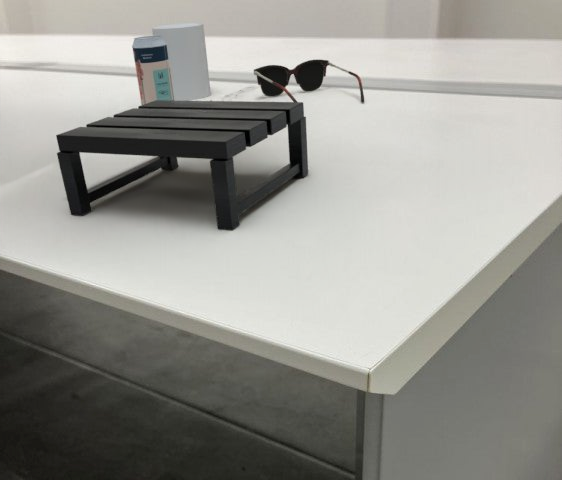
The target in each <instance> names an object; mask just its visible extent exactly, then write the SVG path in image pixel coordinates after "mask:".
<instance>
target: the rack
mask: <svg viewBox="0 0 562 480" xmlns="http://www.w3.org/2000/svg"><path fill="white" fill-rule="evenodd" d="M304 109H305V107H304V102H302V101H297V102H293V101H241V100H240V101H235V100H234V101H233V100H212V101H211V100H190V101H172V100H155V101H153V102H150V103H147V104H144V105H142V104H141V105H138V107H133V108H130V109H127V110H124V111H121V112H119V113H116V114H113V116H107V117H103V118H101V119H98V120H95V121H93V122H90V123H87V124H85V126H78V127H76V128H73V129H70V130H67V131H64V132H61V133H58V134H56V135H55V138H56V141H57V146H58V150H59V151H58V152H56V156H57V160H58V165H59V169H60V174H61V178H62V182H63V187H64V190H65V194H66V199H67V204H68V209H69V212H70V215H72V216H80V217H81V216H82V217H83V216H85V215H87V214H89V213H91V212H92V205H91V203H93V202H95V201H98V200H100V199H101V198H104V197H106V196H107V195H109V194H111V193H114V192H116V191H118V190H120V189H122V188H124V187H126V186H127V185H130V184H132V183H133V182H136V181H138V180H140V179H142V178H144V177H146V176H148V175H150V174H152V173H154V172H156V171H158V170H162V171H174V170H175V169H178V168H179V161H178V158H181V159H182V158H184V159H202V160H203V159H204V160H209V164H210V166H209V167H210V174H211V183H212V191H213V200H214V209H215V217H216V226H217V229H218V230H229V231H233V230H234V229H236V228H237V227H239V226H240V215H241V214H242V213H244V212H245V211H247V210H248V209H249V208H251V207H252V206H254V205H256V204H257V203H258V202H259V201H261V200H262V199H264V198H265V197H267V196H268V195H270V194H271V193H272V192H274V191H275V190H276V189H278V188H279V187H280V186H282V185H283V184H285V183H286V182H288V181H289V180H290V179H293V178H296V179H304V178H305V177H307V176H308V175H309V161H308V160H309V159H308V141H307V140H308V138H307V137H308V136H307V116H305V110H304ZM286 128H287V135H288V136H287V137H288V138H287V140H288V156H289V157H288V159H289V163H288V164H286V165H285V166H282V168H280V169H279V170H277V171H275V172H274V173H273V174H271V175H269V176H268V177H267V178H265V179H263V180H262V181H261V182H259V183H258V184H256V185H255V186H253V187H251V188H250V189H249V190H247V191H245V192H244V193H242V194H241V195H239V196H238V195H237V194H238V193H237V183H236V173H235V164H234V162H235V161H234V157H236V156H237V155H240V153H243V152H245V151H246V150H247V148H252V147H254V146H255V145H257V144H259V143H261V142H262V141H264V140H266V139H268V137H269V136H273V135H275V134H277V133H278V132H280V131H282V130H284V129H286ZM80 153H84V154H103V155H123V156H143V157H154V158H151V159H150V160H148V161H145V162H144V163H141V164H140V165H137V166H135V167H133V168H131V169H129V170H126V171H124V172H122V173H120V174H118V175H115V176H114V177H111V178H110V179H109V178H108V179H107V180H105V181H103V182H101V183H99V184H97V185H94V186H92V187H90V188H88V187H87V182H86V177H85V173H84V169H83V163H82V158H81V154H80Z"/></svg>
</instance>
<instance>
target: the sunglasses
mask: <svg viewBox="0 0 562 480" xmlns="http://www.w3.org/2000/svg"><path fill="white" fill-rule="evenodd" d="M328 66H330V67H333V68H336V69H337V70H340V71H342V72H345V73H346V74H348V75H350V76H353V77H354V78H356V80H357V82H358V86H359V92H360V103H361V104H363V103H364V102H365V95H364V90H363V83H362V80H361V77H360V76H359V75H358V74H357V73H355V72H352V71H350V70H347V69H345V68H343V67H341V66H338V65H336V64H334V63H333V62H330V61H329V60H327V59H309V60H306V61H304V62H301V63H299V64H297V65H296V66H295V67H294V68H293V69H290V68H288V67H287V66H284V65H279V64H268V65H264V66H260V67H257V68H255V69H253V75H255V76H256V80H257V85H258V86H260V90H261V92H262V94H263V95H264V96H266V97H271V98H274V97H279V96H281V95H282V94H283V93H285V94H286V95H287V96H288V97H289V98H290V100H291V102H298V100H297V99H296V98H295V97H294V96H293V95H292V93H291V92H290V91H289V90H288V89H287V88H286V87H287V86H289V83H290V81H291V80H290V79H291V76H292V75H293V76H294V79H295V82H296V84H297V85H298V86H299V87H300V89H301V90H302V91H303V92H306V93H310V92H311V93H312V92H315V91H317V90H319V89H320V88H321V87H322V85H323V82H324V77H326V76H327V68H328Z"/></svg>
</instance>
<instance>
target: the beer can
mask: <svg viewBox="0 0 562 480" xmlns="http://www.w3.org/2000/svg"><path fill="white" fill-rule="evenodd" d="M131 48H132V52H133V53H132V54H133V59H134V67H135V72H136V79H137V86H138V90H139V96H140V103H141V105H144V104H147V103H150V102H153V101H155V100H172V101H174V96H173V89H172V81H171V74H170V66H169V59H168V52H167V44H166V42H165V41H164V39H163V37H162V36H153V35H144V36H139V37H138V36H137V37H134V38H133V42H132V45H131Z"/></svg>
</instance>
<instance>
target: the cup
mask: <svg viewBox="0 0 562 480" xmlns="http://www.w3.org/2000/svg"><path fill="white" fill-rule="evenodd" d="M151 30H152V32H151V33H152V36H162V37H163V39H164V41H165V42H166V44H167V52H168V59H169V66H170V74H171V81H172V89H173V96H174V101H198V100H202V99H207V98H209V97H211V95H212V93H211V92H212V91H211V82H210V73H209V65H208V56H207V55H208V54H207V46H206V37H205V29H204V23H201V22H187V23H185V22H184V23H175V24H174V23H172V24H164V25H157V26H153V27H151ZM210 101H213V100H212V99H211V100H210Z"/></svg>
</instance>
